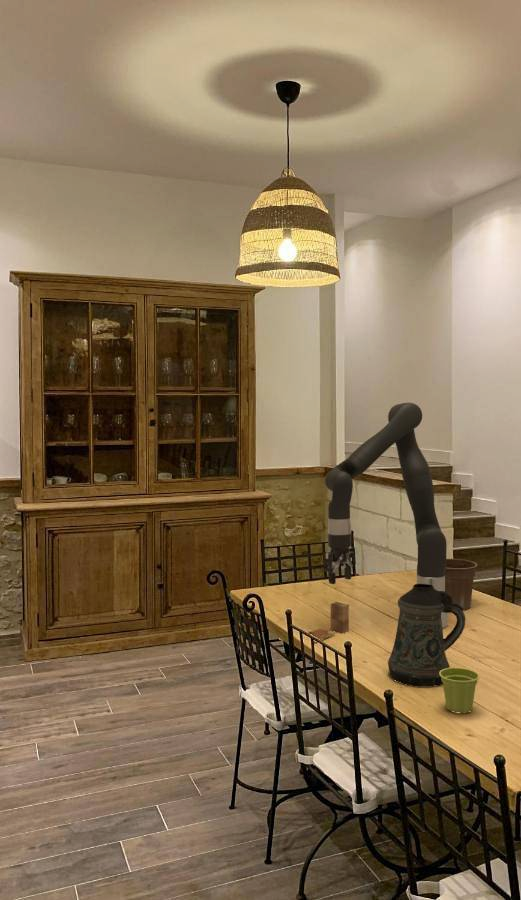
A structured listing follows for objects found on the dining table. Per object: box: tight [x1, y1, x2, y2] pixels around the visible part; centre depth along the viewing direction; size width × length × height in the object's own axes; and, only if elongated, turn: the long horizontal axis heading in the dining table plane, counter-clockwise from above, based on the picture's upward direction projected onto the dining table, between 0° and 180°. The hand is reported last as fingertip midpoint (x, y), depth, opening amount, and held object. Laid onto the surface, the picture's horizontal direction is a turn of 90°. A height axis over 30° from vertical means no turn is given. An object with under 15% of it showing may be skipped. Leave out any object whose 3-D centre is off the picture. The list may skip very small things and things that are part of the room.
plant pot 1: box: [445, 558, 478, 611], centre depth 270 cm, size 16×16×16 cm
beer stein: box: [387, 583, 467, 688], centre depth 200 cm, size 16×19×25 cm
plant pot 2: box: [439, 667, 480, 714], centre depth 178 cm, size 9×9×9 cm
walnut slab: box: [330, 601, 350, 635], centre depth 241 cm, size 5×3×9 cm, turn 48°
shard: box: [308, 628, 335, 644], centre depth 234 cm, size 11×8×2 cm
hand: (340, 581), depth 240 cm, fingers open, 8 cm apart
